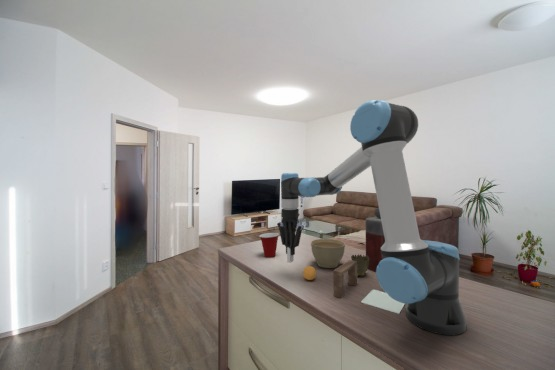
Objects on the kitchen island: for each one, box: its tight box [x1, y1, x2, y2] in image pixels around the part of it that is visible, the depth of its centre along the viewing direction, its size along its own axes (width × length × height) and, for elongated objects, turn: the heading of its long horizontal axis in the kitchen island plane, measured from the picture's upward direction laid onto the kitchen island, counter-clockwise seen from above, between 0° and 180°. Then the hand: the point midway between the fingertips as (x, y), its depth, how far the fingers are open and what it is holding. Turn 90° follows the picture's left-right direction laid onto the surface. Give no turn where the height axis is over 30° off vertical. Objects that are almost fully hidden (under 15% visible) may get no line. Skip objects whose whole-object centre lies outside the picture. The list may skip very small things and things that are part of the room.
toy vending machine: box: [365, 207, 385, 273], centre depth 116 cm, size 9×11×28 cm
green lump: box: [350, 254, 369, 277], centre depth 110 cm, size 8×7×8 cm
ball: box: [302, 265, 317, 281], centre depth 106 cm, size 6×6×6 cm
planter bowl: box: [310, 238, 346, 269], centre depth 123 cm, size 16×16×11 cm
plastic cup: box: [259, 232, 280, 259], centre depth 138 cm, size 11×11×12 cm
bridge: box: [332, 259, 358, 299], centre depth 96 cm, size 3×14×9 cm, turn 141°
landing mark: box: [360, 289, 406, 315], centre depth 87 cm, size 12×12×1 cm
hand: (290, 261), depth 112 cm, fingers closed
